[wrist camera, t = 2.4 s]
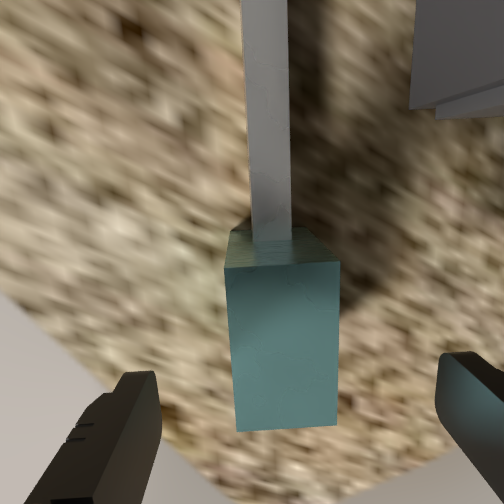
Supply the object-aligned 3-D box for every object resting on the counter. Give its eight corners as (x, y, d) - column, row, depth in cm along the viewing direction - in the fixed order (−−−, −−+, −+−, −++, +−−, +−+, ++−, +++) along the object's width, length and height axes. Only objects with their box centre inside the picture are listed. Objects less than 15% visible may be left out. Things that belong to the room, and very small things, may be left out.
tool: (212, -27, 12) (189, -170, 7) (303, -30, 12) (350, -176, 7) (238, 345, 17) (236, 431, 11) (306, 341, 17) (336, 425, 11)
